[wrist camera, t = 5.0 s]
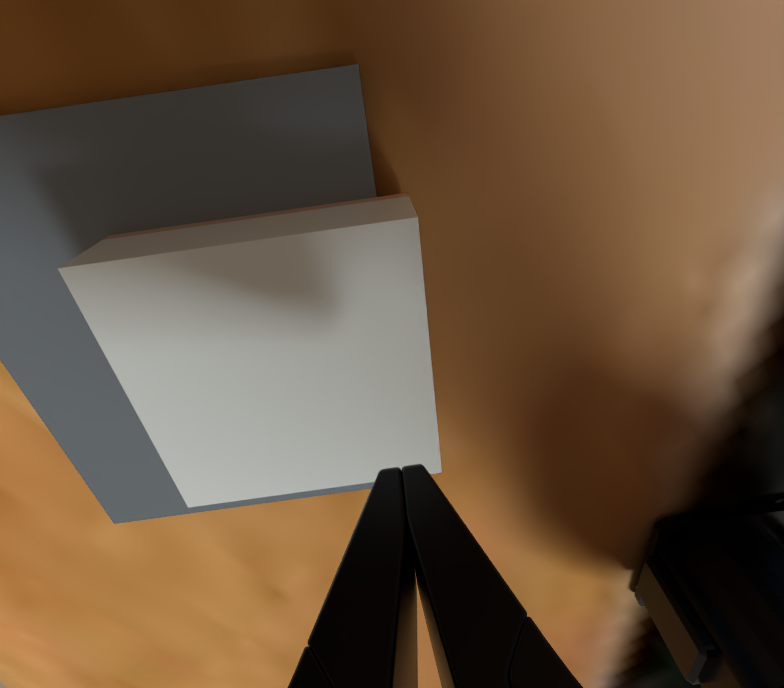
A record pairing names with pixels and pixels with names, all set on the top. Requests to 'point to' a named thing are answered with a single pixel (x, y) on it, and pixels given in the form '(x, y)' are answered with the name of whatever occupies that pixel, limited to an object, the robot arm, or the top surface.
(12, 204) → the mat
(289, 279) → the tile
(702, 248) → the top surface
